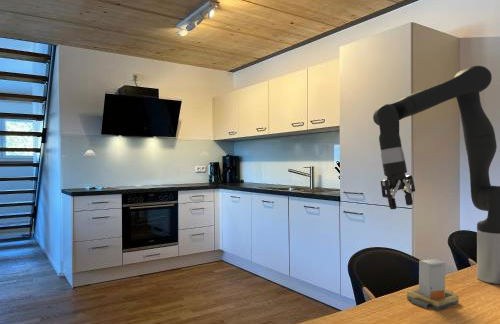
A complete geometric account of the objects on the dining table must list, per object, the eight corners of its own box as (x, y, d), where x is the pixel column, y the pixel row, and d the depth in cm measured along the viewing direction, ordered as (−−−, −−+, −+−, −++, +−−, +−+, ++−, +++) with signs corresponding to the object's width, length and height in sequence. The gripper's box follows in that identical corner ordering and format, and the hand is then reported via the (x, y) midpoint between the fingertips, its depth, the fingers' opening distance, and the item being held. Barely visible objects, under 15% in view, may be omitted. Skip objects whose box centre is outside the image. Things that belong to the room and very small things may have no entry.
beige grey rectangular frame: (429, 292, 116) (429, 284, 116) (461, 302, 108) (461, 294, 108) (404, 300, 110) (403, 292, 110) (435, 312, 101) (435, 303, 101)
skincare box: (429, 304, 106) (428, 264, 106) (418, 299, 110) (418, 260, 110) (445, 302, 108) (445, 262, 108) (434, 297, 112) (434, 258, 112)
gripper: (388, 162, 121) (397, 210, 120) (415, 157, 128) (424, 203, 127) (371, 164, 127) (379, 210, 126) (398, 160, 134) (405, 204, 133)
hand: (401, 207), depth 126 cm, fingers open, 8 cm apart
